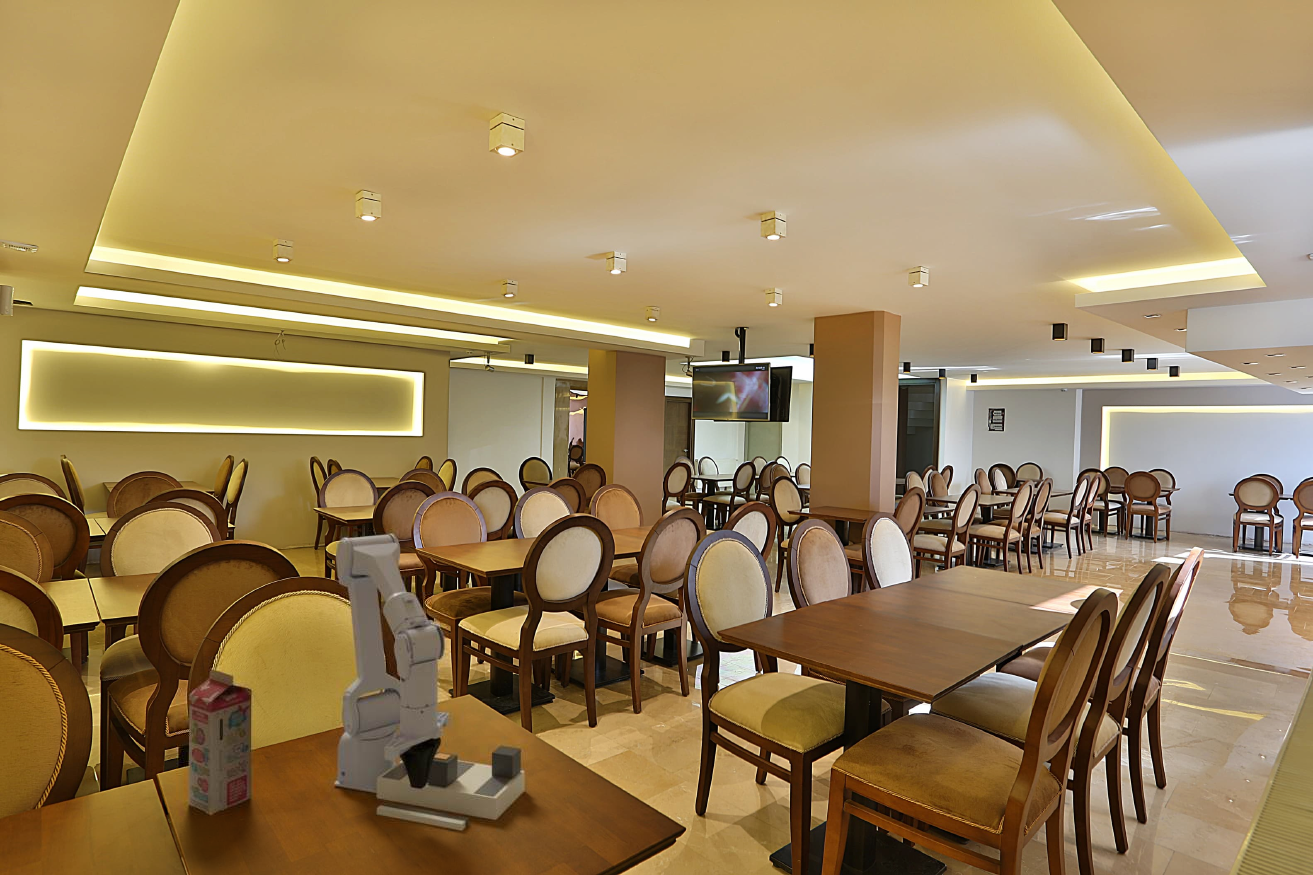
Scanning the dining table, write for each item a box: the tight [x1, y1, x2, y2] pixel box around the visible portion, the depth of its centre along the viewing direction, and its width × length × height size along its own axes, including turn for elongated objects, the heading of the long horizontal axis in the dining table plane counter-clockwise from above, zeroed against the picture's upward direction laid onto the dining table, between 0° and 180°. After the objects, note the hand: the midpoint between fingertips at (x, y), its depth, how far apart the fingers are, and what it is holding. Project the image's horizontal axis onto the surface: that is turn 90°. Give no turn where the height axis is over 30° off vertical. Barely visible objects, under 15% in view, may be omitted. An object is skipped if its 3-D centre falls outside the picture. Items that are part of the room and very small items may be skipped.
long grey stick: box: [376, 802, 469, 831], centre depth 116 cm, size 16×2×1 cm, turn 73°
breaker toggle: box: [427, 751, 459, 787], centre depth 121 cm, size 4×3×4 cm
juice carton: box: [188, 668, 253, 814], centre depth 121 cm, size 7×7×22 cm
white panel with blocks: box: [376, 745, 526, 821], centre depth 124 cm, size 23×10×8 cm, turn 73°
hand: (418, 786), depth 115 cm, fingers closed
